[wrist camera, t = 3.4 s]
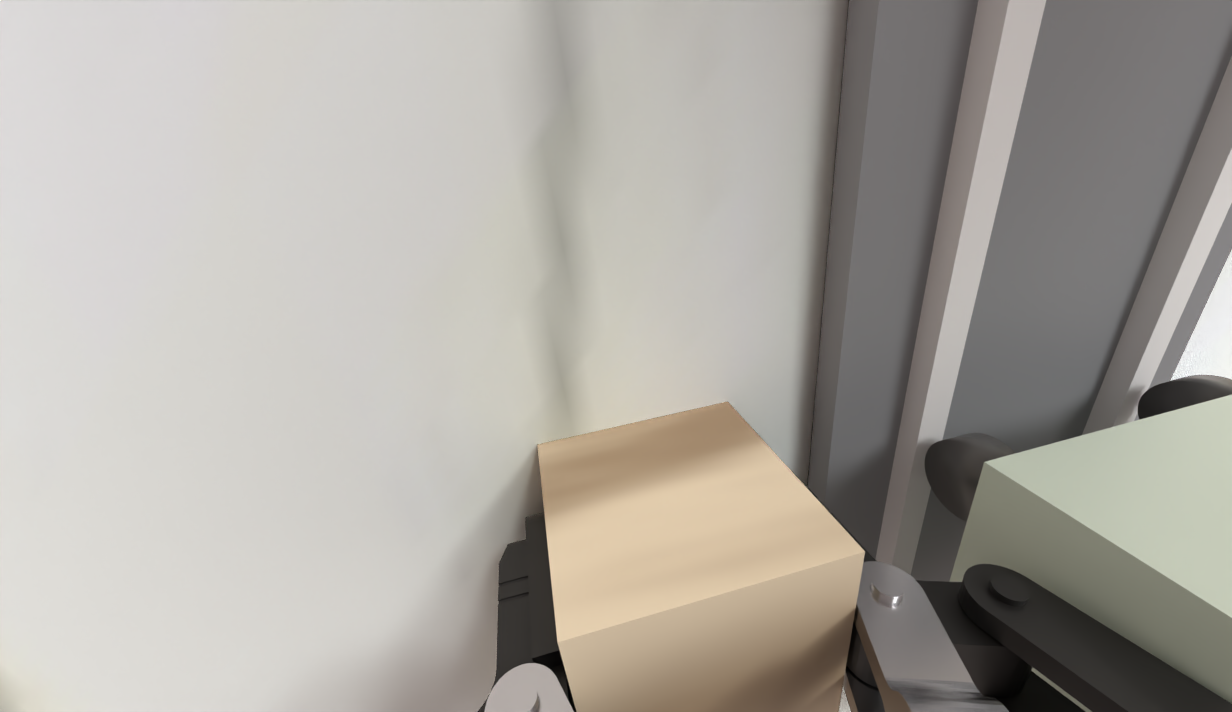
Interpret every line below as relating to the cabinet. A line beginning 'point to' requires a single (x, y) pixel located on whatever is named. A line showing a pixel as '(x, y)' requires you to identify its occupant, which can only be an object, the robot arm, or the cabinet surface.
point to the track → (1010, 237)
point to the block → (694, 570)
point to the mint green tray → (1115, 522)
